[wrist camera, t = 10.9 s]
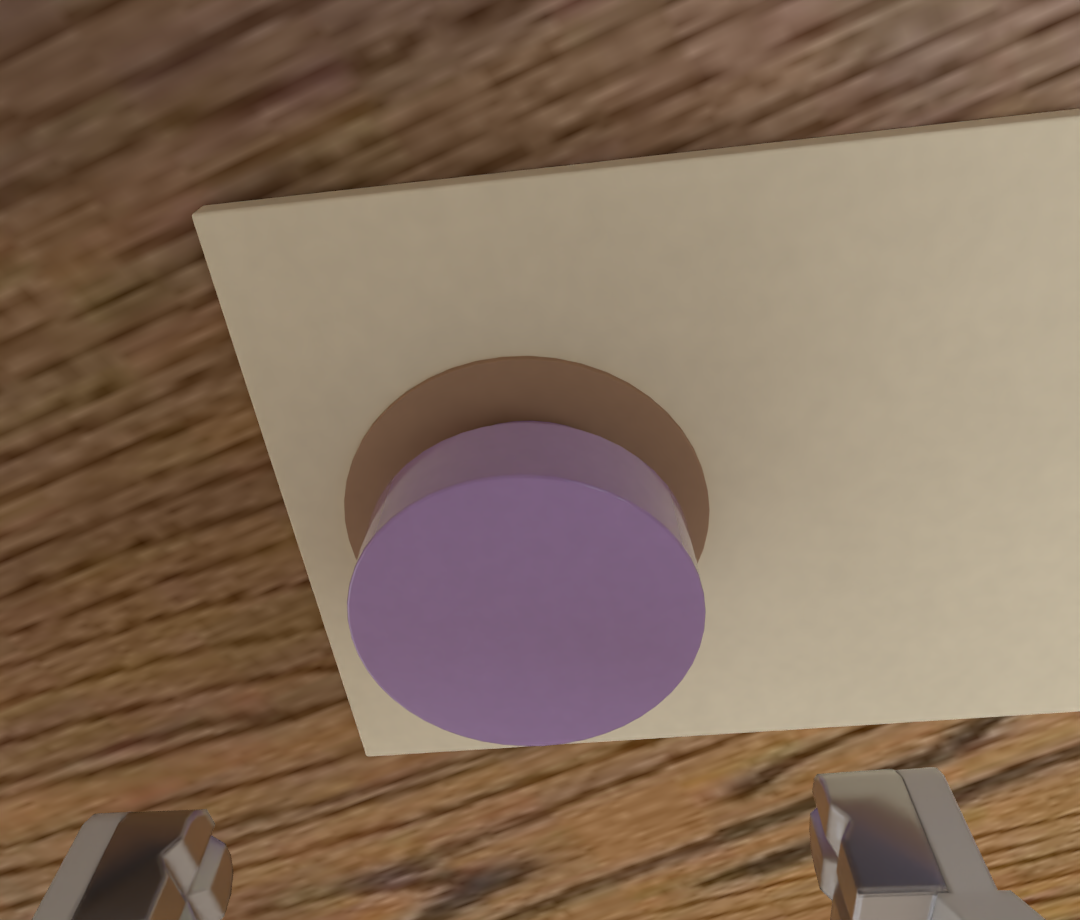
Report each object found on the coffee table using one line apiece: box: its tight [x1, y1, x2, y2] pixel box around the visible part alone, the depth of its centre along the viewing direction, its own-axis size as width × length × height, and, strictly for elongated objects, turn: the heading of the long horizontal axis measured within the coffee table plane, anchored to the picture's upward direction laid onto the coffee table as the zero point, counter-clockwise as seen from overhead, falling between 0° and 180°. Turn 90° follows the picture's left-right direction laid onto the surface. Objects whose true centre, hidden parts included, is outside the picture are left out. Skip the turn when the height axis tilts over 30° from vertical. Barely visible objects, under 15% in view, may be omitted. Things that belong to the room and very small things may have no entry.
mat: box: [192, 108, 1080, 756], centre depth 17 cm, size 14×22×1 cm, turn 96°
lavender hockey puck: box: [347, 420, 706, 746], centre depth 16 cm, size 6×6×3 cm
